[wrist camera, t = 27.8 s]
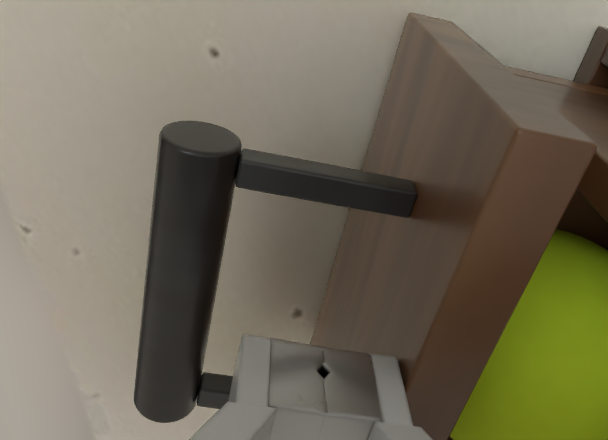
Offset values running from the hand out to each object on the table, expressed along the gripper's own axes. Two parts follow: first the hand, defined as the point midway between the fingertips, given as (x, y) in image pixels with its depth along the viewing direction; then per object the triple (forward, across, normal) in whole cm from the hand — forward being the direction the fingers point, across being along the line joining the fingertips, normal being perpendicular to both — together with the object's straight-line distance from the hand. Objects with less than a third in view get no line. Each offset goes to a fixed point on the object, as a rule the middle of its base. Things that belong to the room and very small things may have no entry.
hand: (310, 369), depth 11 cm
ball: (+3, -6, +1) cm, 7 cm away
